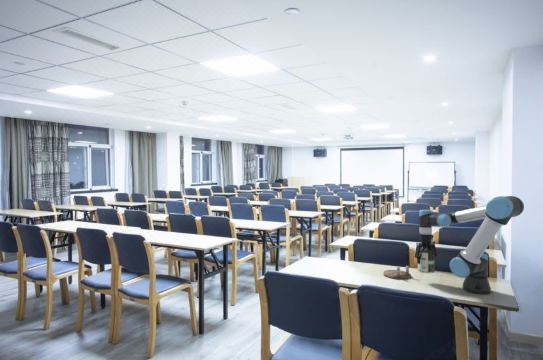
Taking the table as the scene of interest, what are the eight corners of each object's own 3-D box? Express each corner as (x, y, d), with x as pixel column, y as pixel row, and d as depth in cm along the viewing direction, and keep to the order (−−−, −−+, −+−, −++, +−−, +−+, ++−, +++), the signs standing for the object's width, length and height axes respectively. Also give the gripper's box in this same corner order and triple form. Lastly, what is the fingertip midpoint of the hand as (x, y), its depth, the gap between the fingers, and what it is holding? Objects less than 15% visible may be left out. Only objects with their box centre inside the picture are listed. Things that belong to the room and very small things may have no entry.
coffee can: (432, 269, 241) (432, 248, 241) (436, 273, 231) (436, 251, 231) (416, 269, 243) (415, 248, 243) (419, 273, 233) (418, 251, 233)
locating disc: (416, 277, 248) (416, 266, 248) (396, 280, 241) (396, 269, 241) (397, 270, 265) (397, 260, 265) (378, 273, 258) (378, 263, 257)
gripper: (433, 231, 245) (434, 264, 245) (407, 234, 236) (408, 268, 236) (443, 233, 238) (443, 267, 238) (416, 235, 229) (417, 270, 229)
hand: (426, 267), depth 237 cm, fingers closed on coffee can, 10 cm apart
